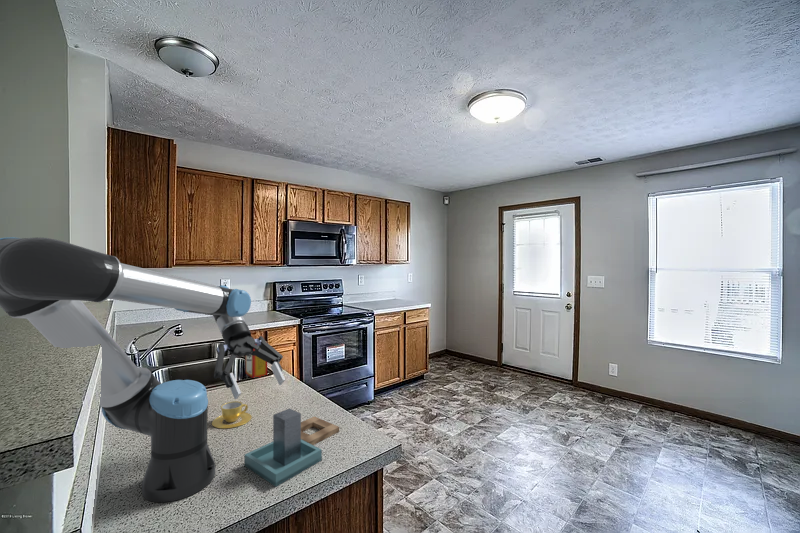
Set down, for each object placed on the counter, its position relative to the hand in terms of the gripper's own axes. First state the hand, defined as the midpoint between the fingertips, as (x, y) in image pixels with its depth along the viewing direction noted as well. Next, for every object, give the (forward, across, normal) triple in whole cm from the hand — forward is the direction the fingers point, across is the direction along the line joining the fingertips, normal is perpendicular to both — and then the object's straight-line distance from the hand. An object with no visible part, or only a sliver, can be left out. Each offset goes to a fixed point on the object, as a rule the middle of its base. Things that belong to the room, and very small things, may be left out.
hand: (261, 389), depth 101 cm
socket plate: (+15, -15, -10) cm, 23 cm away
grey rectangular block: (+19, -1, -4) cm, 20 cm away
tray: (+20, 0, -5) cm, 20 cm away
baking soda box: (-30, -34, -56) cm, 72 cm away
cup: (-5, -4, -30) cm, 31 cm away
